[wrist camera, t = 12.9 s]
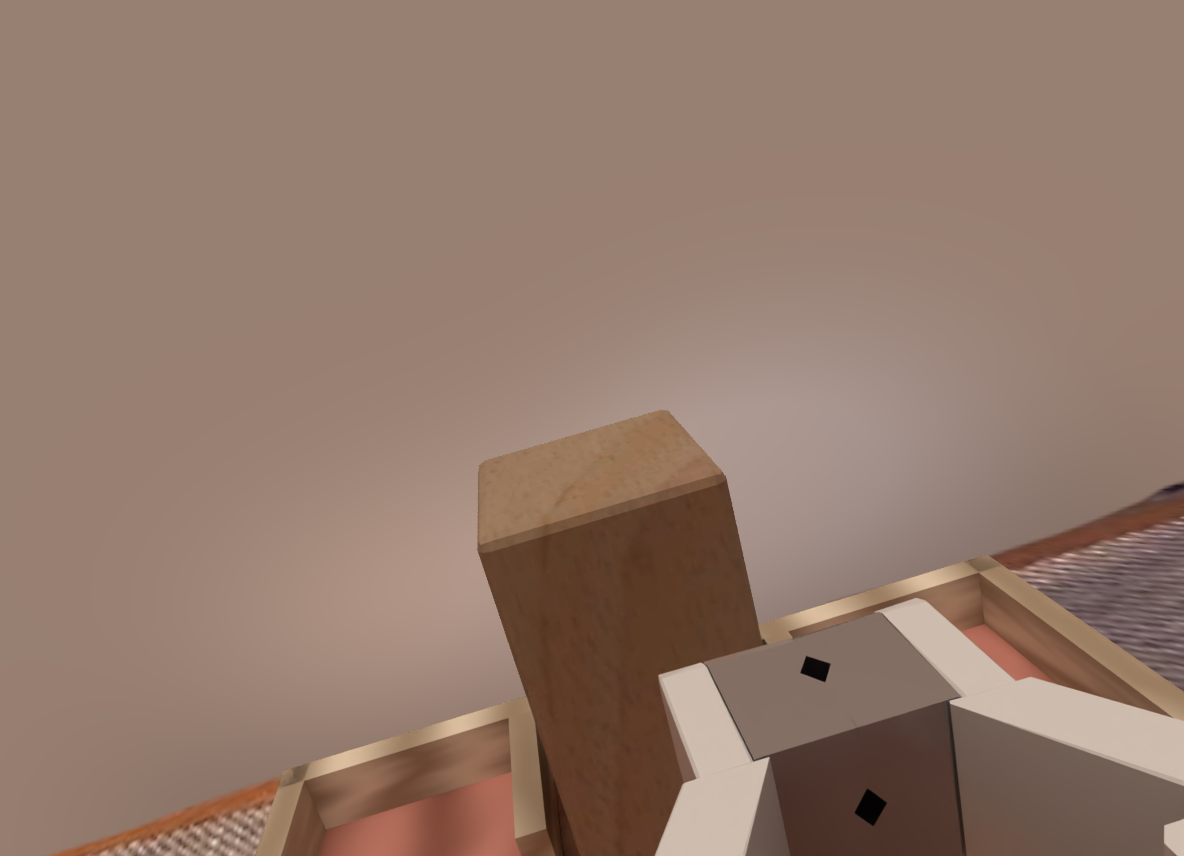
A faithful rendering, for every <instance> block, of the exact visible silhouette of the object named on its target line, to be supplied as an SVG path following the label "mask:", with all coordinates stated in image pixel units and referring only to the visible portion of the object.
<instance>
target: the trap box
mask: <svg viewBox="0 0 1184 856" xmlns="http://www.w3.org/2000/svg"><path fill="white" fill-rule="evenodd" d="M914 598H919V599H922V600H925V601H927V602H928V603H929V604H930V605H931V606H932V607H933V608H935V609H936V610H937V611H938V612H939V613H940V614H941V615H942V616H944V617H945V618H946V619H947V620H948V621H949V622H950V623H952V624H953V625H954V626H955V627H956V628H957V629H958V630H959V631H961V632H962V633H963V634H964V635H965V636H966V637H967V638H969V639H970V640H971V641H972V642H973V643H974V644H975V645H976V646H978V647H979V648H980V649H981V650H982V651H983V652H984V653H986V654H987V655H988V656H989V657H990V658H991V659H992V660H993V661H995V662H996V663H997V664H998V665H999V666H1000V667H1001V668H1003V669H1004V670H1005V671H1006V672H1007V673H1008V674H1009V675H1010V676H1012V677H1013V678H1014V679H1015V680H1016V681H1018V680H1021V679H1025V678H1028V677H1033V678H1036V679H1040V680H1043V681H1047V682H1050V683H1054V684H1057V685H1061V686H1064V687H1068V688H1071V689H1074V690H1078V691H1081V692H1085V693H1088V694H1092V695H1095V696H1099V697H1102V698H1106V699H1109V700H1113V701H1116V702H1120V703H1123V704H1126V705H1130V706H1133V707H1137V708H1140V709H1144V710H1147V711H1151V712H1154V713H1158V714H1161V715H1165V716H1168V717H1171V718H1175V719H1178V720H1182V721H1184V692H1183V691H1182V690H1180V689H1179V688H1177V687H1176V686H1174V685H1173V684H1172V683H1170V682H1169V681H1167V680H1166V679H1164V678H1163V677H1162V676H1160V675H1159V674H1157V673H1156V672H1154V671H1153V670H1151V669H1150V668H1149V667H1147V666H1146V665H1144V664H1143V663H1141V662H1140V661H1139V660H1137V659H1136V658H1134V657H1133V656H1131V655H1130V654H1129V653H1127V652H1126V651H1124V650H1123V649H1121V648H1120V647H1119V646H1117V645H1116V644H1114V643H1113V642H1111V641H1110V640H1108V639H1107V638H1106V637H1104V636H1103V635H1101V634H1100V633H1098V632H1097V631H1096V630H1094V629H1093V628H1091V627H1090V626H1088V625H1087V624H1086V623H1084V622H1083V621H1081V620H1080V619H1078V618H1077V617H1076V616H1074V615H1073V614H1071V613H1070V612H1068V611H1067V610H1065V609H1064V608H1063V607H1061V606H1060V605H1058V604H1057V603H1055V602H1054V601H1053V600H1051V599H1050V598H1048V597H1047V596H1045V595H1044V594H1043V593H1041V592H1040V591H1038V590H1037V589H1035V588H1034V587H1032V586H1031V585H1030V584H1028V583H1027V582H1025V581H1024V580H1022V579H1021V578H1020V577H1018V576H1017V575H1015V574H1014V573H1012V572H1011V571H1010V570H1008V569H1007V568H1005V567H1004V566H1002V565H1001V564H1000V563H998V562H997V561H995V560H994V559H992V558H991V557H989V556H988V555H984V556H981V557H977V558H974V559H971V560H968V561H964V562H961V563H958V564H955V565H951V566H948V567H945V568H942V569H938V570H935V571H932V572H929V573H926V574H922V575H919V576H916V577H913V578H909V579H906V580H903V581H899V582H896V583H893V584H890V585H886V586H883V587H880V588H877V589H873V590H870V591H867V592H864V593H860V594H857V595H854V596H851V597H847V598H844V599H841V600H838V601H834V602H831V603H828V604H825V605H821V606H818V607H815V608H812V609H808V610H805V611H802V612H799V613H795V614H792V615H789V616H786V617H783V618H779V619H776V620H773V621H769V622H766V623H763V624H760V625H758V626H759V630H760V635H761V639H762V644H763V645H767V644H770V643H774V642H778V641H781V640H785V639H789V638H791V639H792V638H795V637H799V636H802V635H805V634H808V633H812V632H815V631H818V630H821V629H825V628H828V627H831V626H834V625H838V624H841V623H844V622H848V621H851V620H854V619H857V618H861V617H864V616H867V615H870V614H873V613H874V612H875V611H878V610H881V609H884V608H887V607H890V606H893V605H896V604H899V603H902V602H905V601H908V600H911V599H914ZM255 856H564V855H563V847H562V839H561V832H560V824H559V816H558V808H557V800H556V792H555V784H554V777H553V774H552V771H551V768H550V765H549V762H548V759H547V756H546V753H545V750H544V747H543V744H542V741H541V738H540V735H539V732H538V729H537V726H536V723H535V720H534V717H533V714H532V711H531V708H530V705H529V702H528V699H527V696H525V697H522V698H519V699H516V700H512V701H510V702H506V703H503V704H500V705H496V706H493V707H490V708H487V709H483V710H480V711H477V712H474V713H471V714H467V715H464V716H460V717H457V718H454V719H451V720H447V721H444V722H441V723H438V724H435V725H431V726H428V727H425V728H421V729H418V730H415V731H412V732H408V733H405V734H402V735H399V736H396V737H392V738H389V739H386V740H383V741H379V742H376V743H373V744H369V745H366V746H363V747H360V748H356V749H353V750H350V751H347V752H343V753H340V754H337V755H334V756H330V757H327V758H324V759H320V760H317V761H314V762H311V763H308V764H304V765H301V766H298V767H294V768H291V769H288V770H285V771H284V773H283V775H282V778H281V781H280V784H279V787H278V790H277V793H276V796H275V799H274V802H273V804H272V807H271V810H270V813H269V816H268V819H267V822H266V825H265V828H264V831H263V834H262V836H261V839H260V842H259V845H258V848H257V851H256V854H255Z"/></svg>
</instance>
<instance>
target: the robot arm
mask: <svg viewBox="0 0 1184 856" xmlns="http://www.w3.org/2000/svg"><path fill="white" fill-rule="evenodd" d="M658 679H659V688H660V692H661V696H662V700H663V704H664V708H665V712H666V716H667V720H668V724H669V728H670V732H671V736H672V740H673V744H674V748H675V752H676V756H677V760H678V764H679V768H680V771H681V775H682V778H683V782H684V784H683V785H682V787H681V790H680V792H679V795H678V797H677V800H676V802H675V805H674V808H673V810H672V813H671V815H670V818H669V820H668V823H667V825H666V828H665V831H664V833H663V836H662V838H661V841H660V843H659V846H658V849H657V851H656V854H655V856H1184V721H1182V720H1178V719H1175V718H1171V717H1168V716H1165V715H1161V714H1158V713H1154V712H1151V711H1147V710H1144V709H1140V708H1137V707H1133V706H1130V705H1126V704H1123V703H1120V702H1116V701H1113V700H1109V699H1106V698H1102V697H1099V696H1095V695H1092V694H1088V693H1085V692H1081V691H1078V690H1074V689H1071V688H1068V687H1064V686H1061V685H1057V684H1054V683H1050V682H1047V681H1043V680H1040V679H1036V678H1033V677H1028V678H1025V679H1021V680H1018V681H1016V680H1015V679H1014V678H1013V677H1012V676H1010V675H1009V674H1008V673H1007V672H1006V671H1005V670H1004V669H1003V668H1001V667H1000V666H999V665H998V664H997V663H996V662H995V661H993V660H992V659H991V658H990V657H989V656H988V655H987V654H986V653H984V652H983V651H982V650H981V649H980V648H979V647H978V646H976V645H975V644H974V643H973V642H972V641H971V640H970V639H969V638H967V637H966V636H965V635H964V634H963V633H962V632H961V631H959V630H958V629H957V628H956V627H955V626H954V625H953V624H952V623H950V622H949V621H948V620H947V619H946V618H945V617H944V616H942V615H941V614H940V613H939V612H938V611H937V610H936V609H935V608H933V607H932V606H931V605H930V604H929V603H928V602H927V601H925V600H922V599H919V598H914V599H911V600H908V601H905V602H902V603H899V604H896V605H893V606H890V607H887V608H884V609H881V610H878V611H875V612H874V613H873V614H870V615H867V616H864V617H861V618H857V619H854V620H851V621H848V622H844V623H841V624H838V625H834V626H831V627H828V628H825V629H821V630H818V631H815V632H812V633H808V634H805V635H802V636H799V637H795V638H792V639H791V638H789V639H785V640H781V641H778V642H774V643H770V644H767V645H763V646H759V647H756V648H752V649H748V650H745V651H741V652H737V653H734V654H730V655H726V656H723V657H719V658H715V659H712V660H708V661H704V662H703V664H702V663H698V664H694V665H691V666H687V667H684V668H681V669H677V670H674V671H670V672H667V673H664V674H660V675H658Z"/></svg>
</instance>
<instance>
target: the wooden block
mask: <svg viewBox="0 0 1184 856" xmlns="http://www.w3.org/2000/svg"><path fill="white" fill-rule="evenodd" d="M478 553H479V556H480V559H481V562H482V565H483V568H484V571H485V574H486V577H487V580H488V583H489V586H490V589H491V592H492V595H493V598H494V601H495V604H496V607H497V609H498V613H499V616H500V619H501V622H502V625H503V628H504V631H505V634H506V637H507V640H508V643H509V645H510V649H511V651H512V655H513V658H514V661H515V664H516V666H517V669H518V672H519V675H520V678H521V681H522V684H523V687H524V690H525V693H526V696H527V699H528V702H529V705H530V708H531V711H532V714H533V717H534V720H535V723H536V726H537V729H538V732H539V735H540V738H541V741H542V744H543V747H544V750H545V753H546V756H547V759H548V762H549V765H550V768H551V771H552V774H553V777H554V780H555V783H556V786H557V789H558V792H559V795H560V798H561V801H562V804H563V807H564V810H565V813H566V816H567V819H568V822H569V825H570V828H571V831H572V834H573V837H574V840H575V843H576V846H577V849H578V852H579V855H580V856H655V854H656V851H657V849H658V846H659V843H660V841H661V838H662V836H663V833H664V831H665V828H666V825H667V823H668V820H669V818H670V815H671V813H672V810H673V808H674V805H675V802H676V800H677V797H678V795H679V792H680V790H681V787H682V785H683V784H684V782H683V778H682V775H681V771H680V768H679V764H678V760H677V756H676V752H675V748H674V744H673V740H672V736H671V732H670V728H669V724H668V720H667V716H666V712H665V708H664V704H663V700H662V696H661V692H660V688H659V679H658V675H660V674H664V673H667V672H670V671H674V670H677V669H681V668H684V667H687V666H691V665H694V664H698V663H702V664H703V662H704V661H708V660H712V659H715V658H719V657H723V656H726V655H730V654H734V653H737V652H741V651H745V650H748V649H752V648H756V647H759V646H763V644H762V639H761V635H760V630H759V626H758V622H757V616H756V612H755V607H754V603H753V598H752V594H751V589H750V585H749V580H748V575H747V571H746V566H745V562H744V557H743V552H742V548H741V544H740V539H739V534H738V530H737V525H736V521H735V516H734V511H733V507H732V502H731V498H730V494H729V489H728V484H727V480H726V476H725V475H724V474H723V472H722V471H721V470H720V469H719V467H718V466H717V465H716V464H715V463H714V462H713V461H712V459H711V458H710V457H709V456H708V455H707V454H706V453H705V452H704V450H703V449H702V448H701V447H700V446H699V445H698V444H697V443H696V442H695V440H694V439H693V438H692V437H691V436H690V435H689V434H688V433H687V431H686V430H685V429H684V428H683V427H682V426H681V425H680V424H679V423H678V421H677V420H676V419H675V418H674V417H673V416H672V415H671V414H670V412H669V411H666V410H659V411H655V412H652V413H648V414H645V415H642V416H638V417H635V418H631V419H628V420H625V421H621V422H617V423H614V424H610V425H607V426H603V427H600V428H597V429H593V430H590V431H586V432H583V433H579V434H576V435H572V436H569V437H565V438H562V439H559V440H555V441H552V442H548V443H545V444H541V445H538V446H534V447H531V448H528V449H524V450H520V451H517V452H514V453H510V454H507V455H503V456H500V457H496V458H493V459H489V460H486V461H484V462H483V463H482V464H481V465H479V472H478Z"/></svg>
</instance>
